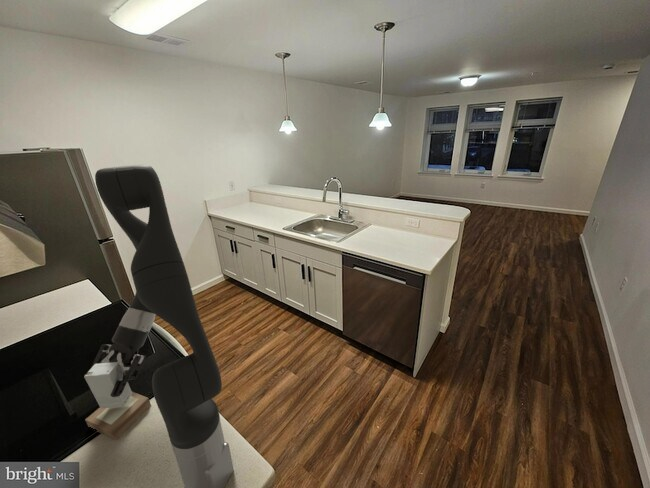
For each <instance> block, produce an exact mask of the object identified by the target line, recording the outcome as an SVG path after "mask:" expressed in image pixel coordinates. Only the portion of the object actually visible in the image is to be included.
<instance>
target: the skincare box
mask: <svg viewBox="0 0 650 488" xmlns="http://www.w3.org/2000/svg"><path fill="white" fill-rule="evenodd" d="M99 363H100V362H99ZM117 366H118V362H113V363H100V364H95V365H94V366H93V367H92V366H91V368H90V369H89V370H88V371H87V373H86V374H84V377H83V378H84V379H85V381H86V383H87V385H88V387H89V389H90V391H91V392H92V395H93V397H94V398H95V400H96V402H97V404H98V406H99V408H101V409H103V408H114V407H124V406H125V405H126V403H127V402H128V400H129V399H130V397H131V395H132V392H133V391H132V389H131V387H130V384H129V381H128V382H127V383H126V386H125V388H124V390H123V392H122V394H121V395H120V396H118V397H111V396H110V395H111V393H112V390H113V388H114V386H115V384H116V382H117V380H119V372H118V371H117Z"/></svg>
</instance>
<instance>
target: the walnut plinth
mask: <svg viewBox="0 0 650 488" xmlns="http://www.w3.org/2000/svg"><path fill="white" fill-rule="evenodd" d="M151 406H152V404H151V402H150V398H149V397H147V396H144V395H142V394H139V393H136V392H134V391H132V395H131V397H130V399H129V400H128V402H127V403H126V405H125V406H124V407H114V408H103V409H101V408H100V407H98V408H96V410H95V411H94V412H92V413H91V414H90V415H89V416H88V417H86V418H85V419H84V420H85V422H86V425H87V427H88V428H89V427H91V428H93V429H96V430H97V431H96V432H98V433H99V434H102V435H104V436H106V437H109V438H110V439H113V440H114V441H116V440H118V439H119V438H120V436H121V435H123V433H125V431H127V430H128V429H129V428H130V427H131V426H132V425H133V424H134V423H135V422H136V421H137V420H138V419H139V418H140V416H142V415H143V414H144V413H145V412H146V411H147V410H148V409H149V408H150V407H151ZM91 428H90V429H91ZM93 429H92V430H93Z"/></svg>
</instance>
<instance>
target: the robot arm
mask: <svg viewBox="0 0 650 488" xmlns="http://www.w3.org/2000/svg"><path fill="white" fill-rule="evenodd" d="M94 180H95V185H96V189H97V192H98V195H99V197H100V199H101V201H102V203H103V204H104V207H106V209H107V210H108V212H109V213H110V215H111V216H112V217H113V218H114V220H115V222H116V223H117V224H118V225H119V228H121V230H122V231H123V233H125V234H126V236H127V237H128V238H129V240H130V241H131V243H132V245H133V246H134V249H135V252H134V254H133V257H132V260H131V263H130V272H131V277H132V280H133V285H134V287H135V293H134V294H135V295H134V297H133V299H132V301H131V303H130V305H129V306H128V309H126V311H125V313H124V315H123V316H122V318H121V320H120V322H119V324H118V327H117V328H116V330H115V332H114V335H113V336H112V338H111V342H112V344H105V343H102V344H101V345H100V348H99V350H98V352H97V354H96V356H95V358H94V361H93V362H92V365H91V368H92V367H93V366H94V365H95V364H100V363H113V362H118V366H117V371H118V372H119V380H117V382H116V384H115V386H114V388H113V390H112V393H111V395H110V396H111V397H118V396H120V395H121V394H122V392H123V390H124V388H125V386H126V383H127V382H128V383H129V381H132V380H133V381H135V380H137V378H138V376H139V373H140V372H141V370H142V367H143V365H144V363H145V361H146V359H147V356H146V355H142V354H139V350H140V348H142V347H143V346H144V344H145V343H146V339H147V338H148V336H149V333H150V331H151V329H152V327H153V324H154V322H155V318H156V316H157V317H159V318H160V319H161V320H163V321H165V322H166V323H167V324H169V325H170V326H171V327H172V328H174V329H175V330H176V331H177V332H178V333H179V334H180V335H181V336H182V337H183V338H184V339H185V340H186V342H187V343H188V344H189V345H190V348H191V350H192V353H190V354H188V355H185V356H182V357H180V358H179V359H176V360H174V361H172V362H169V363H167V364H165V365H162V366H160V367H158V368H157V369H156V370H154V372H153V374H152V376H151V377H152V380H151V387H152V388H151V389H152V392H153V393H152V394H153V396H154V399H155V402H156V406H157V408H158V410H159V412H160V415H161V417H162V419H163V422H164V425H165V427H166V430H167V435H168V438H169V441H170V444H171V447H172V450H173V454H174V457H175V460H176V464H177V467H178V469H179V473H180V476H181V479H182V483H183V486H184V488H225V487H226V485H227V483H228V482H229V479H230V477H231V475H232V474H233V473H234V465H233V459H232V455H231V450H230V443H229V442H226V440H225V437H224V433H223V426H222V423H221V417H220V413H219V412H220V411H219V408H218V405H217V402H216V401H214V400H213V398H216V397H217V396H218V395H219V394H220V393H221V391H222V389H223V388H222V385H223V382H222V377H221V371H220V369H219V366H218V363H217V360H216V357H215V354H214V353H213V350H212V347H211V345H210V343H209V339H208V336H207V334H206V332H205V328H204V326H203V324H202V321H201V318H200V314H199V312H198V308H197V305H196V301H195V299H194V294H193V290H192V286H191V283H190V279H189V275H188V273H187V269H186V266H185V263H184V260H183V258H182V257H183V256H182V254H181V252H180V249H179V247H178V243H177V241H176V238H175V235H174V231H173V228H172V225H171V220H170V217H169V213H168V208H167V204H166V201H165V197H164V196H165V195H164V192H163V188H162V184H161V181H160V178H159V176H158V173H157V172H156V170H155V168H153V167H152V166H151V165H148V164H134V165H125V166H124V165H122V166H112V167H104V168H100V169H98V170H97V171H96V172H95V175H94ZM147 208H149V211H148V213H149V214H148V222H145V221H143V220H142V219H140V218H139V217H137V216H136V215H134V214H133V213H132V212H131V211H135V210H141V209H147Z"/></svg>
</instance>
